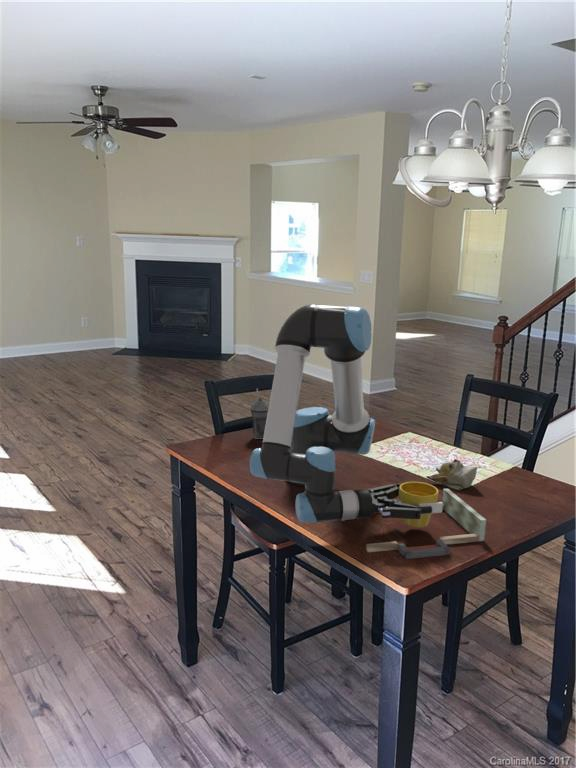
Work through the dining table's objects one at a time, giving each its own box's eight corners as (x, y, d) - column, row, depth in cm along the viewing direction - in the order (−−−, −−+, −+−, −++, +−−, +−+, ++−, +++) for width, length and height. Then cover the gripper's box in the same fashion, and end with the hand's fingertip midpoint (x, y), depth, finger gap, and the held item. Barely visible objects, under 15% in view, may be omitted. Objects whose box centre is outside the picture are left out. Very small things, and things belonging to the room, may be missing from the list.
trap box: (341, 516, 175) (342, 496, 174) (446, 507, 183) (448, 488, 181) (368, 552, 155) (369, 530, 154) (484, 540, 163) (486, 519, 162)
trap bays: (362, 506, 182) (362, 502, 182) (400, 503, 185) (400, 498, 184) (405, 559, 153) (406, 553, 152) (450, 554, 155) (450, 549, 155)
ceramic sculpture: (472, 467, 191) (425, 460, 199) (471, 494, 193) (425, 485, 201) (481, 458, 200) (436, 451, 208) (480, 483, 202) (436, 476, 209)
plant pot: (430, 513, 173) (433, 481, 170) (440, 531, 163) (443, 496, 160) (393, 513, 172) (395, 480, 170) (401, 530, 162) (403, 496, 160)
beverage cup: (270, 440, 239) (271, 390, 234) (251, 441, 237) (252, 391, 233) (266, 434, 246) (267, 385, 241) (248, 435, 244) (249, 386, 240)
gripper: (340, 499, 174) (413, 494, 179) (368, 537, 152) (451, 530, 157) (341, 474, 172) (415, 470, 177) (370, 509, 150) (453, 503, 155)
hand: (432, 498), depth 167 cm, fingers closed on plant pot, 10 cm apart
